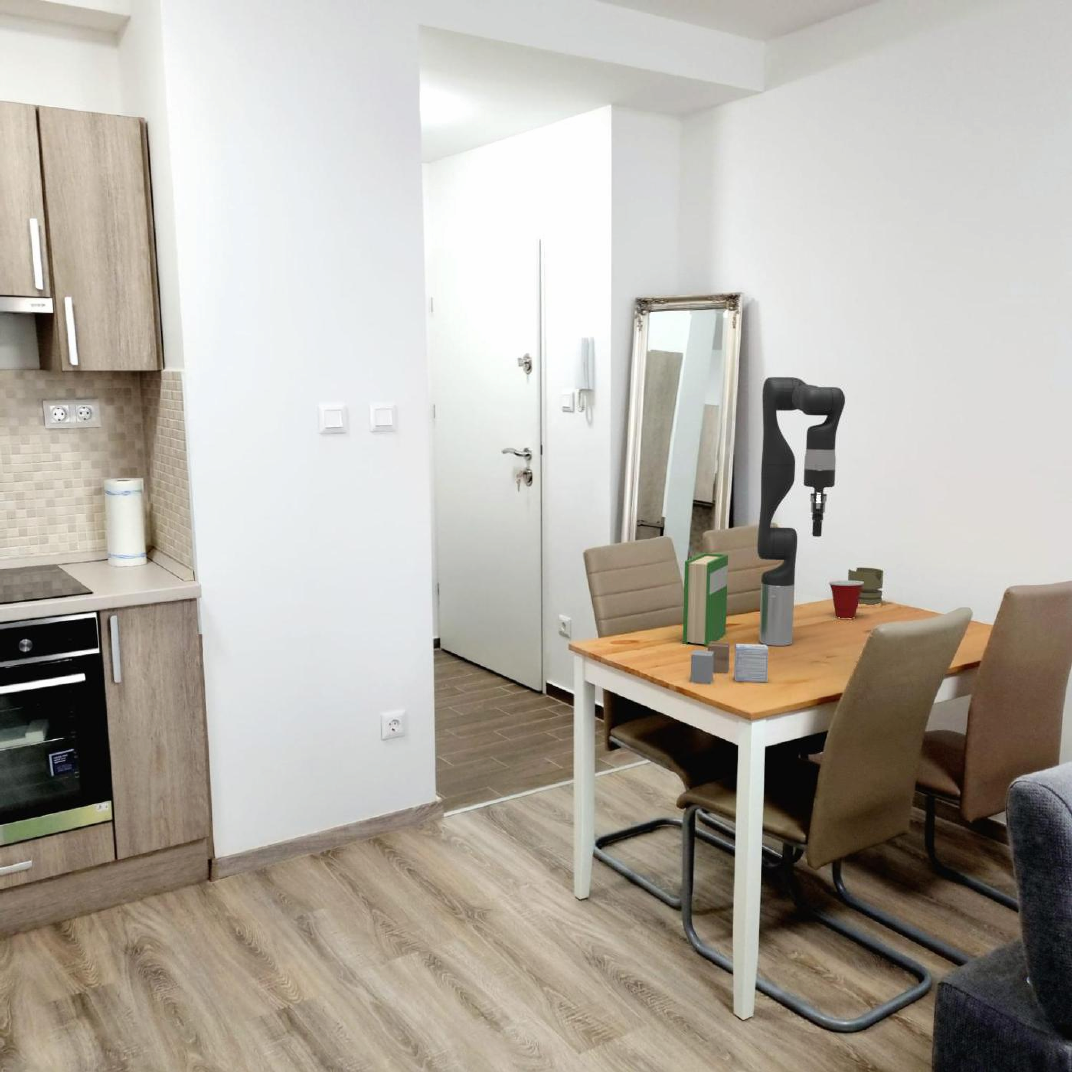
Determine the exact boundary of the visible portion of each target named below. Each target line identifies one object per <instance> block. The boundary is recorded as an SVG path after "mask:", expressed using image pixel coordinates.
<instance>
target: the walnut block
mask: <svg viewBox="0 0 1072 1072" xmlns="http://www.w3.org/2000/svg"><path fill="white" fill-rule="evenodd" d="M730 647H731V645H730V641H729V642H726V641H725V642H724V641H716V642H715V641H710V642H709V645H708V647H707V651H713V652H714V660H713V674H715V673H716V674H725V675H726V674H727V675H728V672H729V669H730Z"/></svg>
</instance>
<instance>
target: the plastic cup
mask: <svg viewBox="0 0 1072 1072" xmlns="http://www.w3.org/2000/svg"><path fill="white" fill-rule="evenodd" d="M828 584H829V586H830V589H831V590H830V591H831V595H832V601H833V608H834V614H835V615H834V616H835V617H836V616H837V617H840V618H853V617H855V618H856V613H857V609H858V608H859V607H858V602H859V597H860V592H861V589H862V585H863V584H864V582H862V581H848V580H832V581H829V582H828Z"/></svg>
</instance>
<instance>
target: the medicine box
mask: <svg viewBox="0 0 1072 1072" xmlns="http://www.w3.org/2000/svg"><path fill="white" fill-rule="evenodd" d="M768 668H769V647H768V645H767V644H756V643H755V644H754V643H752V644H750V643H735V644H734V668H733V672H734V674H733V676H734V677H733V678H734V680H735V681H734V682H744V683H745V682H749V683H753V682H754V683H767V682H768V675H769V674H768V673H769V672H768V670H769V669H768Z"/></svg>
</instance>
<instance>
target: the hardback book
mask: <svg viewBox="0 0 1072 1072" xmlns="http://www.w3.org/2000/svg"><path fill="white" fill-rule="evenodd" d="M728 566H729V554H721V553H709V552H708V553H707V552H703V553H701V554H698V555H696V556H693V557H692V558H688V559H686V560H685V561H684V579H683V580H684V589H683V590H684V591H683V618H682V619H683V623H682V624H683V625H682V627H683V628H682V645H683V644H686V645H688V644H689V643H688V642H690V643H691V644H699V645H704V648H708V645H709V642H710V641H715V642H719V640H720V638H721V639H722V638H723V637H725V636H726V634H727V630H726V629H727V609H728V608H727V606H728V605H727V602H728V601H727V599H728V576H729V575H728V572H729V567H728ZM724 635H725V636H724ZM687 643H688V644H687Z"/></svg>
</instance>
